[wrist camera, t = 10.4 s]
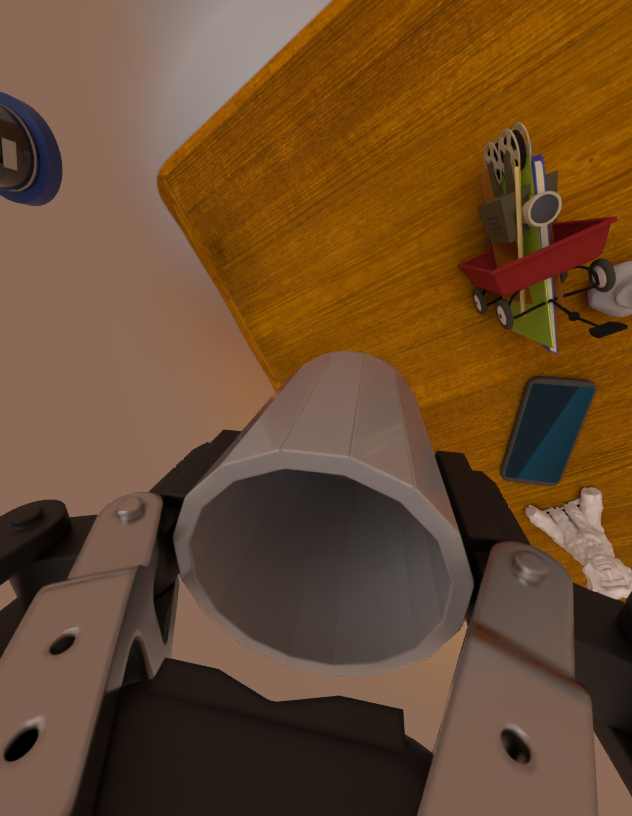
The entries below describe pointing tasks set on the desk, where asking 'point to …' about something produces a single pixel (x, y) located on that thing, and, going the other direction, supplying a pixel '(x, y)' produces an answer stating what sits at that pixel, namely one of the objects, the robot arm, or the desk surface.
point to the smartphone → (546, 429)
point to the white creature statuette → (586, 542)
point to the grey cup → (329, 527)
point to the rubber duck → (615, 293)
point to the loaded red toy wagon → (533, 244)
